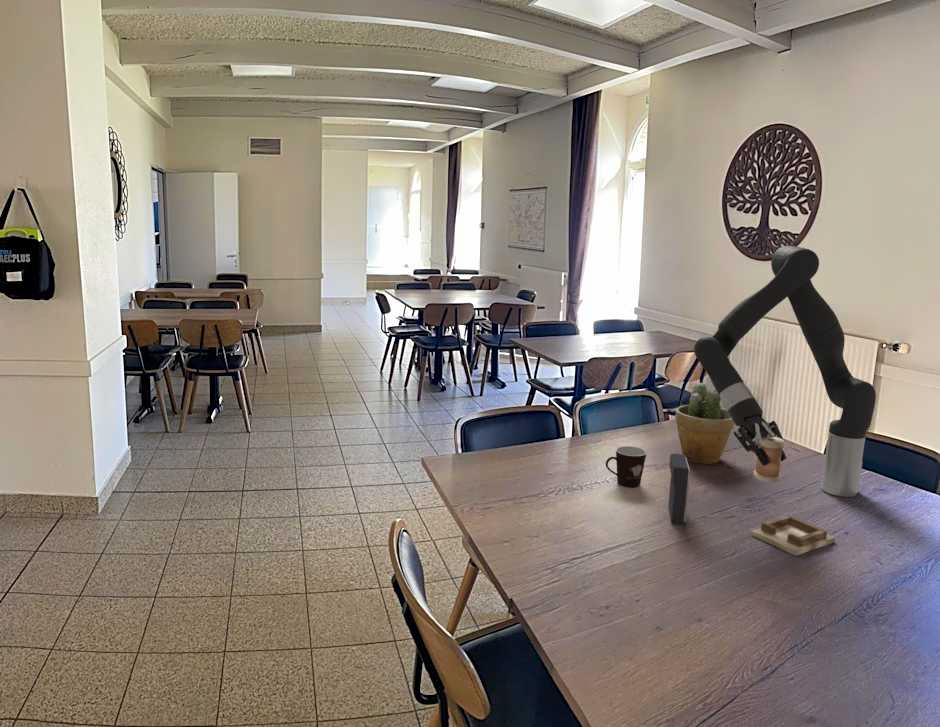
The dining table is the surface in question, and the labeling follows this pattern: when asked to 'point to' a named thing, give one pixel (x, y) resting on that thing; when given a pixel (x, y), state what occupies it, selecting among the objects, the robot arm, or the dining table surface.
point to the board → (793, 535)
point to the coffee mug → (629, 465)
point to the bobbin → (774, 453)
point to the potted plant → (703, 426)
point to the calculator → (678, 488)
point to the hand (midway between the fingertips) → (775, 461)
